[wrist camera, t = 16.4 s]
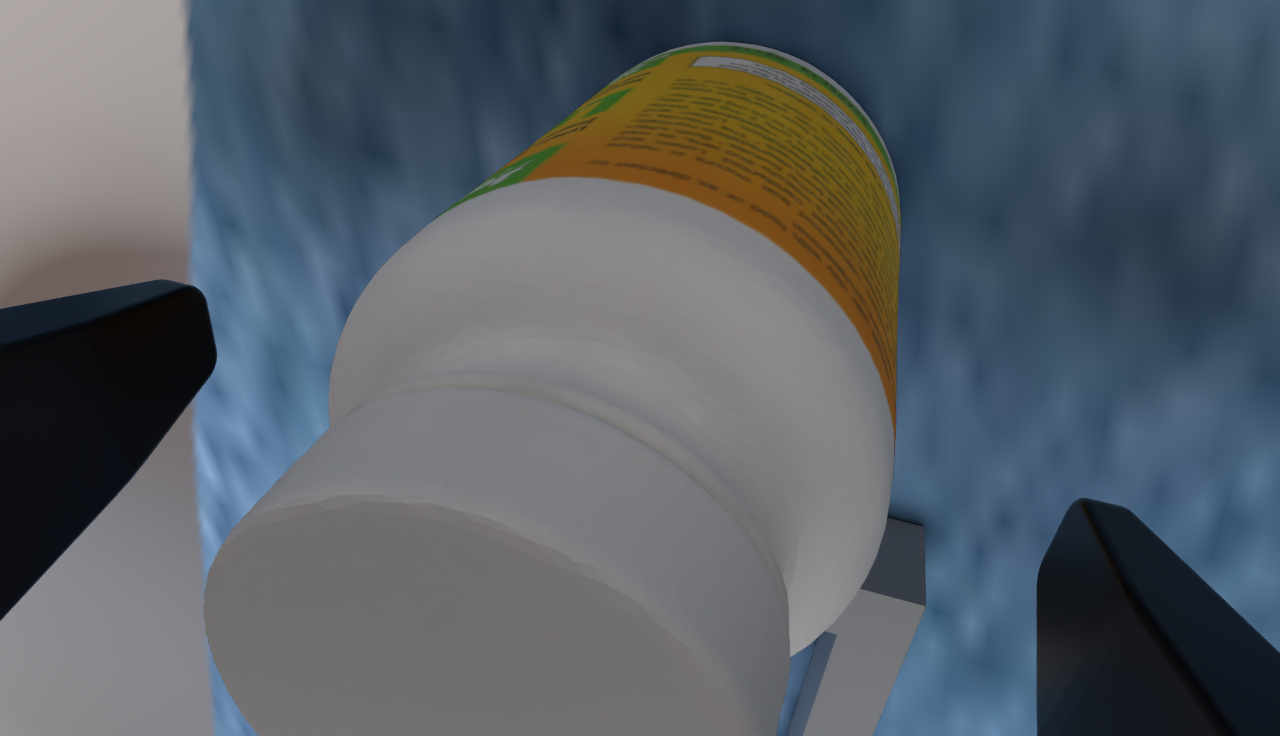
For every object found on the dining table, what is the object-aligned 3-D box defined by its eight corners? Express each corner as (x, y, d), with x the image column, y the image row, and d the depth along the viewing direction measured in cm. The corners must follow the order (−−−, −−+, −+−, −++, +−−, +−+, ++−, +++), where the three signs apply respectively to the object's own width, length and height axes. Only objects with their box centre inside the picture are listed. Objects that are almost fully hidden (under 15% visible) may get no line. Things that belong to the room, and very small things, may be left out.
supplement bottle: (657, -39, 12) (138, 181, 4) (980, 158, 12) (1116, 755, 4) (521, 257, 15) (73, 720, 7) (780, 410, 15) (636, 1034, 7)
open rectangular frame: (923, 526, 16) (925, 606, 14) (816, 807, 21) (808, 890, 19) (455, 409, 17) (406, 468, 16) (462, 696, 22) (426, 764, 21)
